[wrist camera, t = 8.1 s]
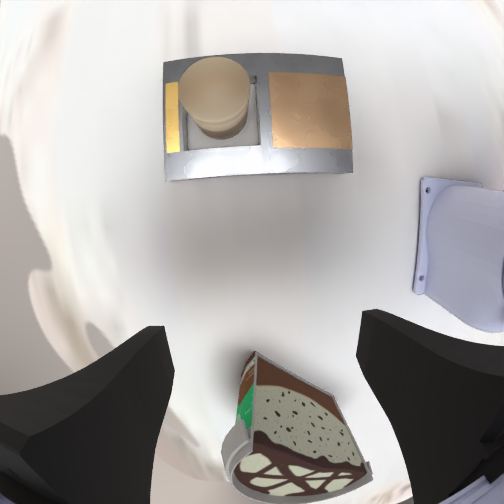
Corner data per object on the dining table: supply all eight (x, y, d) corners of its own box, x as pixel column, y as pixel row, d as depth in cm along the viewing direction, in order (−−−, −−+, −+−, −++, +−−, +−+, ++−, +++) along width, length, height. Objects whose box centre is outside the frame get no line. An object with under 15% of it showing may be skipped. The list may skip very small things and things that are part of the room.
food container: (196, 386, 21) (180, 483, 12) (240, 341, 20) (242, 448, 11) (298, 434, 24) (316, 512, 14) (342, 399, 23) (377, 480, 13)
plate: (344, 173, 17) (353, 172, 16) (171, 180, 17) (165, 181, 16) (334, 66, 15) (342, 57, 14) (168, 70, 15) (163, 61, 14)
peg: (247, 138, 17) (252, 117, 11) (198, 141, 17) (178, 123, 11) (245, 92, 16) (248, 54, 10) (196, 96, 16) (178, 61, 10)
